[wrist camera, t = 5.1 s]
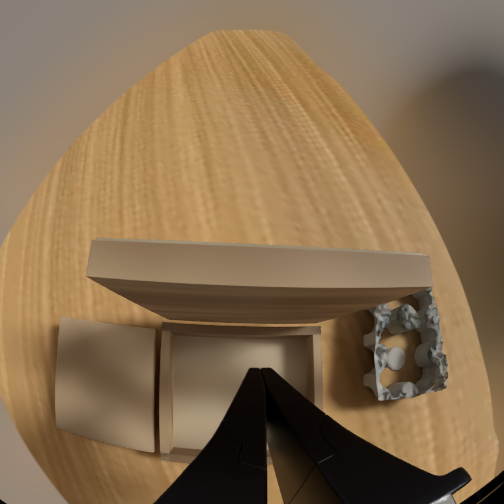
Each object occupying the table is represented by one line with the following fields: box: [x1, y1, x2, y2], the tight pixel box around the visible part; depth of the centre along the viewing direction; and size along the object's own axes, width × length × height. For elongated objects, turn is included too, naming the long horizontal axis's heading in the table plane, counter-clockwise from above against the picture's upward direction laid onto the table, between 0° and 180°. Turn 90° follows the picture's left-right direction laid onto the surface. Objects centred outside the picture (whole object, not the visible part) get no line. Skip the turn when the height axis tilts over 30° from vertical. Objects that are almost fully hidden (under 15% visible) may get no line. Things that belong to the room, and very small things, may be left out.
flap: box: [86, 238, 433, 324], centre depth 13 cm, size 1×10×12 cm, turn 90°
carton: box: [55, 316, 323, 464], centre depth 17 cm, size 10×20×2 cm, turn 90°
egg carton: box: [363, 287, 448, 401], centre depth 20 cm, size 11×8×4 cm
